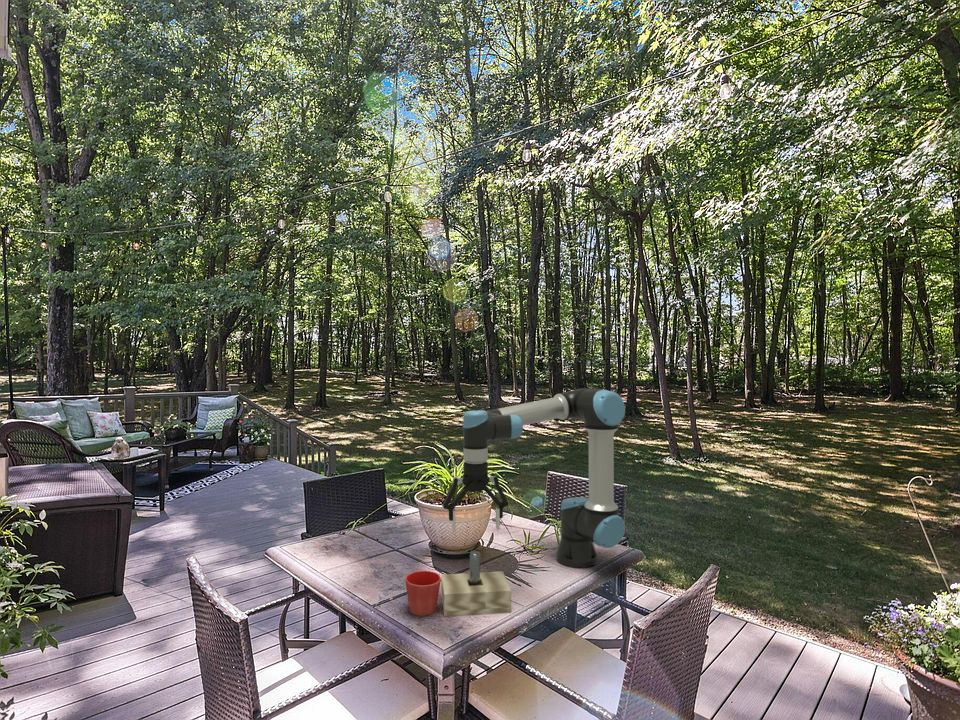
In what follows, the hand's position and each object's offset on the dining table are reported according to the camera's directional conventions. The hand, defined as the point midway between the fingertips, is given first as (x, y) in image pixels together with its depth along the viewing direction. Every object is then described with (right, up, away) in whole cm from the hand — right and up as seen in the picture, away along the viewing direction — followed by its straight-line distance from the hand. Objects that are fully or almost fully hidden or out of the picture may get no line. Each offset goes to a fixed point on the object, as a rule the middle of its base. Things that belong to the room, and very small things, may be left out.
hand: (476, 529), depth 162 cm
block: (0, -23, 0) cm, 23 cm away
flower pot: (-16, -23, -4) cm, 28 cm away
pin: (-1, -21, 0) cm, 21 cm away
